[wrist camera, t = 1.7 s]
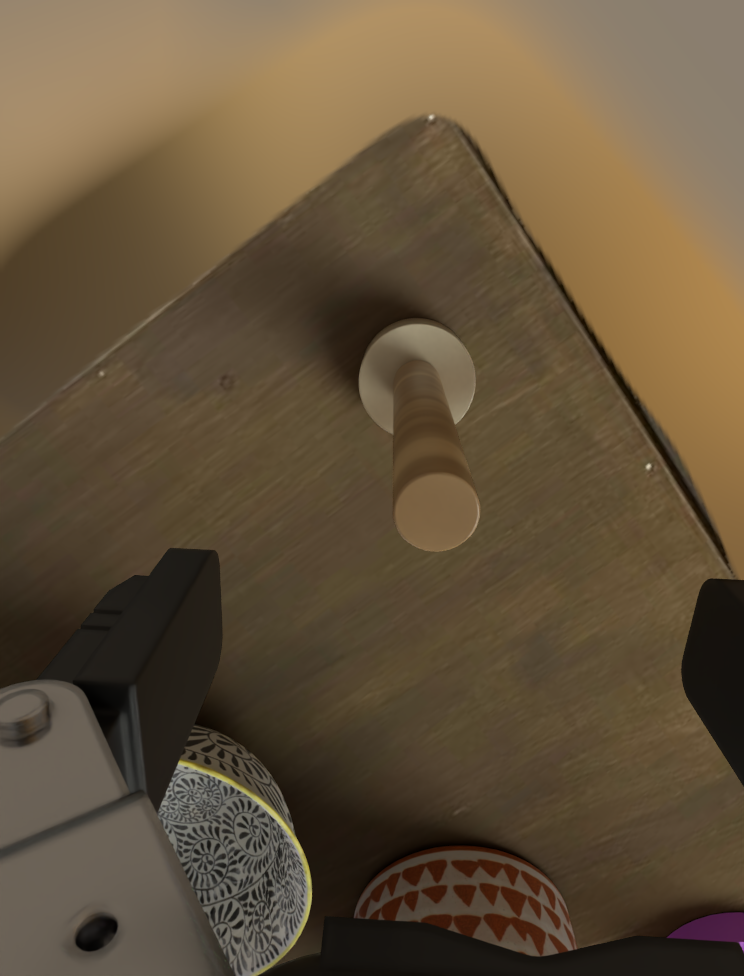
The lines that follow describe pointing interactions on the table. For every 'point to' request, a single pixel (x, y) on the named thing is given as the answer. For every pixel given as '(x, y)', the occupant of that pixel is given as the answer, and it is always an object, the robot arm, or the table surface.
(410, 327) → the wooden peg stand
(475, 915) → the plant pot
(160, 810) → the bowl
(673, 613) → the table surface
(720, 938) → the figurine
